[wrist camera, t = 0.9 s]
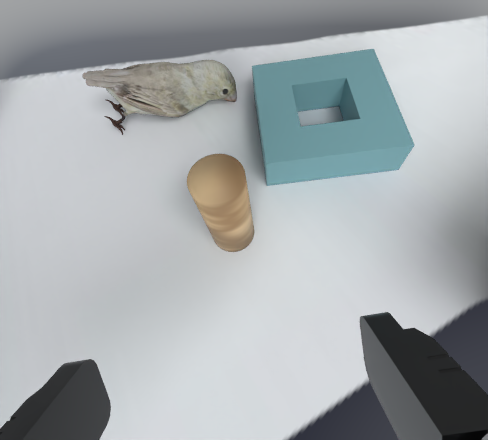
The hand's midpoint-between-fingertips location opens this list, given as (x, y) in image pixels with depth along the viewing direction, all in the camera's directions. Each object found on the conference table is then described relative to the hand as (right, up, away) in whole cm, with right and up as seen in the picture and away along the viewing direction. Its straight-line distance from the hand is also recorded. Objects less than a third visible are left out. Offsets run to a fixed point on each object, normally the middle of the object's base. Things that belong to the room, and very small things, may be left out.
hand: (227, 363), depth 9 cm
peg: (-1, +3, +21) cm, 21 cm away
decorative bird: (-8, +18, +30) cm, 36 cm away
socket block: (+9, +15, +26) cm, 31 cm away
